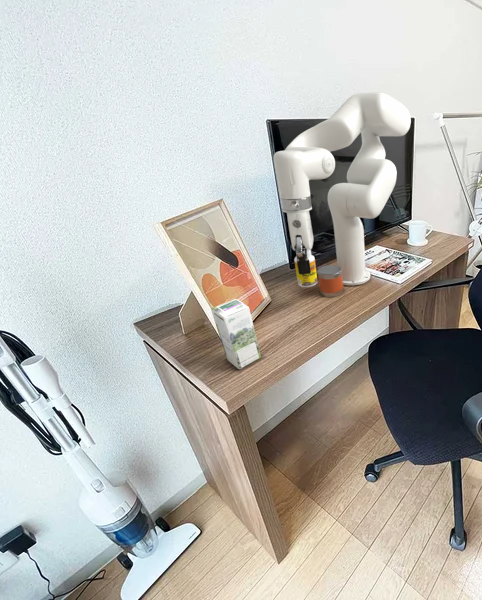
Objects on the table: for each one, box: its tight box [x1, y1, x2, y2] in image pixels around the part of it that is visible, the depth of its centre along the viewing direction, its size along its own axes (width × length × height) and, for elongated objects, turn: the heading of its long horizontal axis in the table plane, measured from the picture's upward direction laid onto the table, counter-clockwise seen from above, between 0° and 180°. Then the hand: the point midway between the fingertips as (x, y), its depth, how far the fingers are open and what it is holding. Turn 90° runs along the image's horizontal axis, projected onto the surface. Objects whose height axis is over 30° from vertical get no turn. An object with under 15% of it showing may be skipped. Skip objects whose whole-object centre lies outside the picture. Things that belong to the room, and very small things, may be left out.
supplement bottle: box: [293, 248, 318, 288], centre depth 91 cm, size 6×6×10 cm
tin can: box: [317, 264, 344, 298], centre depth 103 cm, size 8×8×8 cm
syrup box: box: [210, 298, 262, 371], centre depth 73 cm, size 6×6×14 cm
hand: (305, 268), depth 92 cm, fingers closed on supplement bottle, 5 cm apart
